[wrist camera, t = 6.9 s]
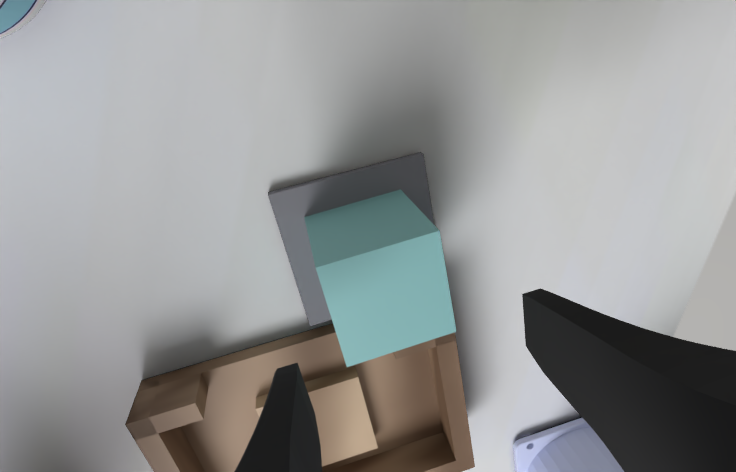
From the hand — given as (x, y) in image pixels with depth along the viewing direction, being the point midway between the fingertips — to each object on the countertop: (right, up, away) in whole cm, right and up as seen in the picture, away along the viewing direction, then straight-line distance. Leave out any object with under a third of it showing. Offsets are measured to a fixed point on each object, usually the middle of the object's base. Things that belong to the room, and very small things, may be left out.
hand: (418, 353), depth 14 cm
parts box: (-4, -6, +11) cm, 13 cm away
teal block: (-2, +3, +7) cm, 8 cm away
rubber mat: (-2, +3, +8) cm, 9 cm away
